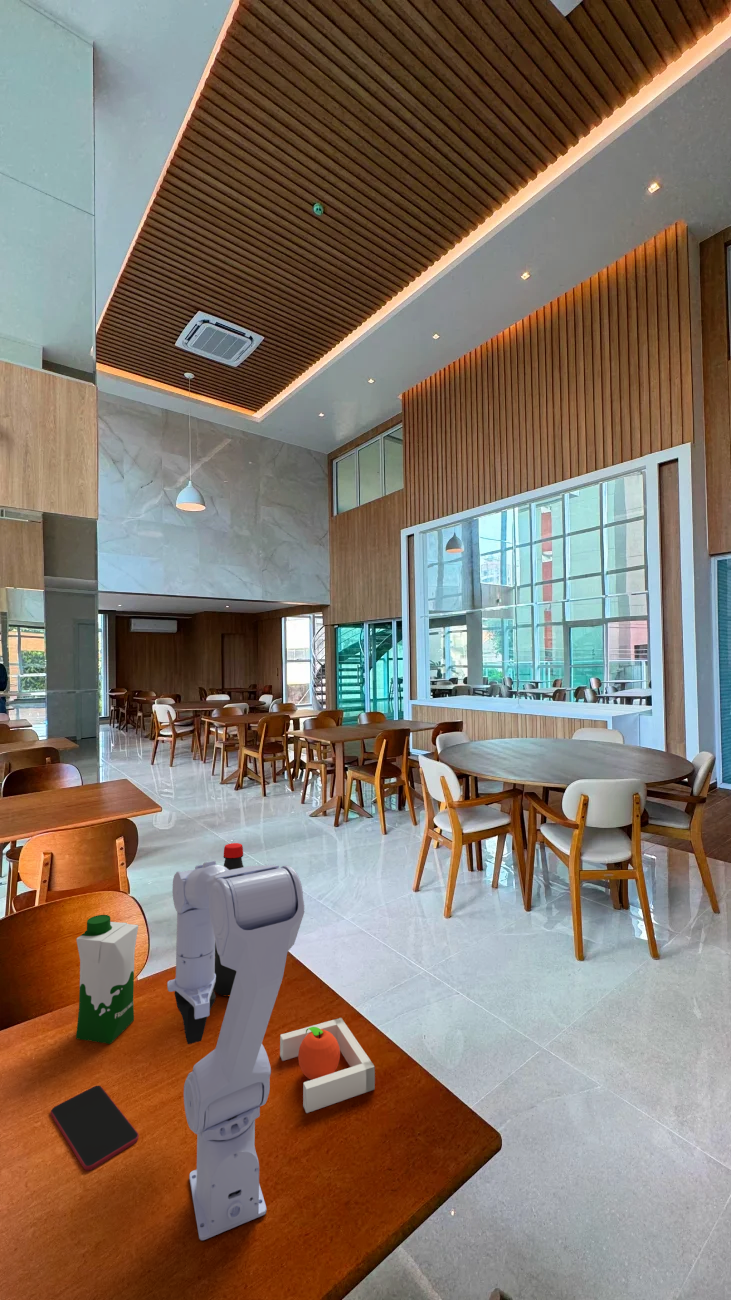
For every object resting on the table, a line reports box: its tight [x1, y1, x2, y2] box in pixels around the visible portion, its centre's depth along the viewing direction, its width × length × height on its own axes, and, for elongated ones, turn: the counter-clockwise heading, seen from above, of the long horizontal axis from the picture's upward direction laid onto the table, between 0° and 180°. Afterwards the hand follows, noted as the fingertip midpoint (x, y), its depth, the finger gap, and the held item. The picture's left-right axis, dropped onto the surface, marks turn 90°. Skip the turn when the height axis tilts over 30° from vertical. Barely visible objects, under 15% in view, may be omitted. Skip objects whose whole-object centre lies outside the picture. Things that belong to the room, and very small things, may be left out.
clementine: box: [297, 1026, 341, 1080], centre depth 91 cm, size 8×7×7 cm
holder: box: [279, 1017, 376, 1114], centre depth 92 cm, size 14×12×4 cm
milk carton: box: [75, 914, 139, 1045], centre depth 103 cm, size 9×9×20 cm
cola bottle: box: [213, 842, 245, 996], centre depth 117 cm, size 8×8×30 cm
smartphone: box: [50, 1085, 140, 1172], centre depth 80 cm, size 7×1×15 cm
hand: (193, 1040), depth 84 cm, fingers closed
